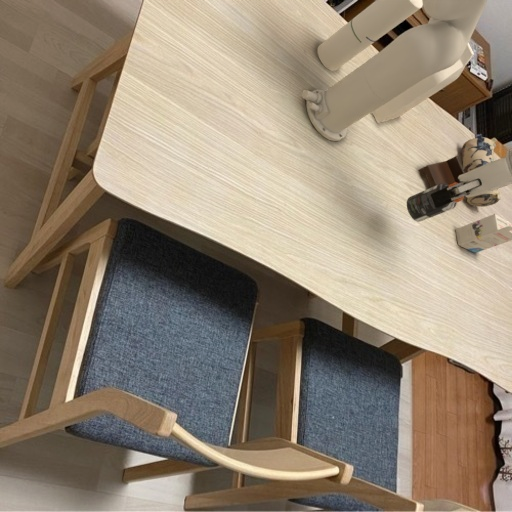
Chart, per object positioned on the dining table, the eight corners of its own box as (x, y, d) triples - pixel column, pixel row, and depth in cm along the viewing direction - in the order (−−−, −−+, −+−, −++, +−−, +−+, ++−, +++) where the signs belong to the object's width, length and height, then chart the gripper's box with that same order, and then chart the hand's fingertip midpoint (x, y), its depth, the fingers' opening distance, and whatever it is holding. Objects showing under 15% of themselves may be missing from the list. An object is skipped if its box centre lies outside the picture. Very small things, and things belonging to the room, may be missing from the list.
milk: (398, 117, 154) (487, 64, 135) (377, 123, 145) (469, 68, 127) (379, 76, 154) (465, 18, 135) (357, 81, 145) (446, 19, 127)
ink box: (472, 237, 159) (523, 218, 149) (474, 253, 157) (526, 235, 147) (454, 228, 154) (506, 208, 144) (457, 245, 152) (509, 226, 142)
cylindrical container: (338, 75, 140) (424, 14, 123) (317, 62, 136) (403, -4, 119) (337, 53, 143) (420, -11, 126) (316, 39, 139) (400, -28, 122)
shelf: (434, 208, 151) (454, 199, 146) (418, 170, 151) (437, 160, 147) (454, 201, 159) (473, 192, 155) (438, 164, 160) (457, 155, 156)
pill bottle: (421, 227, 126) (467, 209, 118) (405, 214, 123) (451, 195, 115) (422, 205, 129) (467, 186, 121) (406, 192, 126) (451, 172, 118)
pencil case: (455, 142, 171) (485, 127, 164) (471, 155, 176) (501, 141, 169) (461, 204, 161) (493, 190, 154) (478, 215, 166) (510, 203, 159)
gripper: (531, 142, 115) (451, 177, 128) (499, 150, 103) (414, 187, 116) (545, 177, 115) (464, 208, 127) (515, 189, 102) (428, 222, 115)
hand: (441, 198), depth 121 cm, fingers closed on pill bottle, 6 cm apart
